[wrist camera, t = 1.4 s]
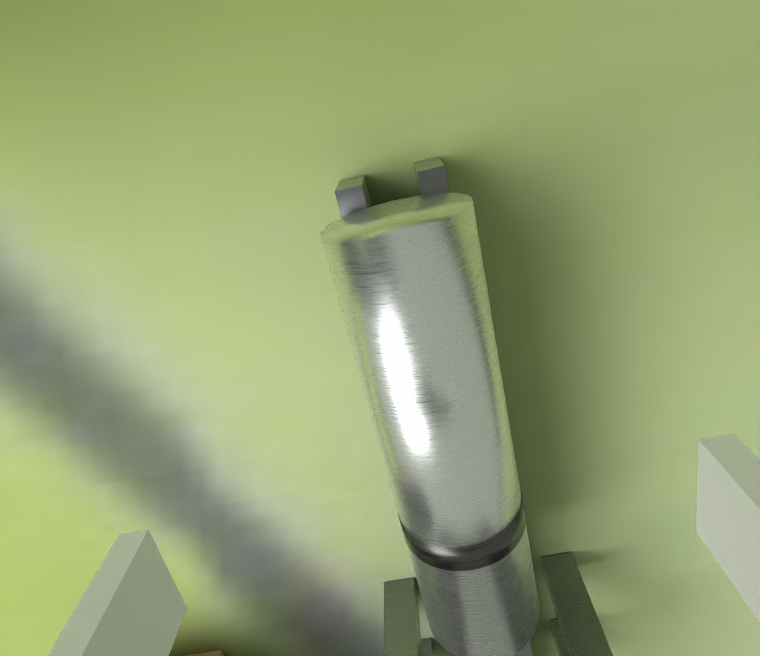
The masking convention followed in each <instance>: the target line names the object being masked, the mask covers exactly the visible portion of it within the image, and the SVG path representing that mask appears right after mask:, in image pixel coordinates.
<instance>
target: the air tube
mask: <svg viewBox="0 0 760 656" xmlns="http://www.w3.org/2000/svg"><path fill="white" fill-rule="evenodd" d="M320 235H321V238H322V242H323V246H324V249H325V253H326V256H327V260H328V263H329V267H330V271H331V274H332V278H333V281H334V285H335V288H336V292H337V296H338V299H339V303H340V306H341V310H342V313H343V317H344V321H345V324H346V328H347V331H348V335H349V338H350V342H351V346H352V349H353V353H354V356H355V360H356V363H357V367H358V371H359V374H360V378H361V381H362V385H363V388H364V392H365V396H366V399H367V403H368V406H369V410H370V413H371V417H372V421H373V424H374V428H375V431H376V435H377V438H378V442H379V446H380V449H381V453H382V456H383V460H384V463H385V467H386V470H387V474H388V478H389V481H390V485H391V488H392V492H393V495H394V499H395V503H396V506H397V510H398V515H399V519H400V523H401V526H402V530H403V533H404V537H405V540H406V543H407V545H408V549H409V553H410V556H411V560H412V563H413V567H414V570H415V574H416V578H417V581H418V585H419V588H420V592H421V595H422V599H423V603H424V606H425V610H426V613H427V617H428V620H429V624H430V627H431V630H432V632H433V635H434V637H435V638H436V640H437V641H438V642H439V643H440V645H441V646H442V647H443V648H444V649H446V650H447V651H448V652H450V653H451V654H453V655H454V656H513V655H515V654H516V653H518V652H519V651H521V650H522V649H523V648H524V647H525V646H526V645H527V644H528V643H529V642H530V641H531V639H532V638H533V636H534V634H535V632H536V630H537V628H538V624H539V620H540V606H539V600H538V594H537V588H536V582H535V576H534V570H533V564H532V558H531V552H530V545H529V539H528V533H527V527H526V518H525V511H524V505H523V499H522V493H521V489H520V485H519V479H518V472H517V466H516V460H515V454H514V448H513V442H512V436H511V430H510V424H509V418H508V412H507V406H506V400H505V393H504V387H503V381H502V375H501V369H500V363H499V357H498V351H497V345H496V339H495V333H494V327H493V320H492V314H491V308H490V302H489V296H488V290H487V284H486V278H485V272H484V266H483V260H482V254H481V247H480V241H479V235H478V229H477V223H476V217H475V211H474V205H473V199H472V197H471V196H469V195H466V194H461V193H437V194H427V195H420V196H414V197H409V198H404V199H399V200H394V201H390V202H386V203H382V204H379V205H375V206H372V207H369V208H366V209H362V210H360V211H357V212H354V213H351V214H349V215H346V216H344V217H342V218H340V219H338V220H336V221H334V222H332V223H330V224H329V225H327V226H326V227H325V228H324V229H323V230H322V231H321V234H320Z"/></svg>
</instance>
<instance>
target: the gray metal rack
mask: <svg viewBox="0 0 760 656" xmlns="http://www.w3.org/2000/svg"><path fill="white" fill-rule="evenodd" d="M414 168H415V173H416V178H417V183H418V188H419V193H420V195H427V194H437V193H449V187H448V182H447V176H446V171H445V165H444V164H443V163H442V161H441V160H440V159H439V157H437V158H432V159H428V160H424V161H420V162H416V163H414ZM335 194H336V198H337V202H338V205H339V209H340V213H341V217H344V216H346V215H349V214H351V213H354V212H357V211H360V210H362V209H366V208H369V207H372V205H371V201H370V197H369V193H368V188H367V184H366V180H365V176H364V175H361V176H357V177H353V178H349V179H344V180H340V182H339V184H338V186H337V188H336V190H335ZM541 563H542V569H543V574H544V578H545V581H546V584H547V587H548V590H549V593H550V596H551V599H552V602H553V605H554V608H555V611H556V615H557V618H558V619H553V620H550V621H551V627H552V634H553V637H554V641H555V644H556V647H557V650H558V654H559V656H613V655H612V652H611V650H610V647H609V645H608V642H607V640H606V637H605V635H604V632H603V630H602V627H601V625H600V622H599V620H598V617H597V615H596V612H595V610H594V607H593V605H592V602H591V600H590V597H589V595H588V592H587V590H586V587H585V585H584V582H583V580H582V577H581V575H580V572H579V570H578V567H577V565H576V562H575V560H574V557H573V555H572V552H568V553H562V554H556V555H549V556H543V557H541ZM384 656H435V653H434V649H433V645H432V642H431V638H428V639H421V635H420V620H419V605H418V592H417V589H416V585H415V582H414V578H408V579H402V580H396V581H390V582H384ZM513 656H533V654H532V649H531V643H530V642H529V643H528V644H527V645H526V646H525V647H524V648H523V649H522V650H521V651H519V652H518V653H516V654H515V655H513Z"/></svg>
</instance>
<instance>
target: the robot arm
mask: <svg viewBox="0 0 760 656" xmlns="http://www.w3.org/2000/svg"><path fill="white" fill-rule="evenodd" d="M696 532H697V534H698V535H699V537H700V538H701V539H702V541H703V542H704V544H705V545H706V547H707V548H708V550H709V551H710V552H711V554H712V555H713V557H714V558H715V560H716V561H717V562H718V564H719V565H720V567H721V568H722V570H723V571H724V573H725V574H726V575H727V577H728V578H729V580H730V581H731V583H732V584H733V585H734V587H735V588H736V590H737V591H738V593H739V594H740V595H741V597H742V598H743V600H744V601H745V603H746V604H747V606H748V607H749V608H750V610H751V611H752V613H753V614H754V616H755V617H756V618H757V620H758V621H759V623H760V460H759V459H758V458H757V457H756V456H755V455H754V454H753V453H752V452H751V451H750V450H749V449H748V448H747V447H746V446H745V445H744V444H743V443H742V442H741V441H740V440H739V439H738V438H737V437H736V436H735V435H734V434H729V435H723V436H717V437H711V438H704V439H698V472H697V513H696ZM186 609H187V607H186V605H185V603H184V600H183V598H182V596H181V594H180V592H179V590H178V588H177V586H176V584H175V582H174V580H173V578H172V576H171V574H170V572H169V570H168V568H167V566H166V564H165V562H164V560H163V558H162V556H161V554H160V552H159V550H158V548H157V546H156V544H155V542H154V540H153V538H152V536H151V534H150V532H149V530H142V531H136V532H130V533H124V534H119V535H118V537H117V539H116V541H115V542H114V544H113V546H112V547H111V549H110V551H109V552H108V554H107V556H106V558H105V559H104V561H103V563H102V564H101V566H100V568H99V569H98V571H97V573H96V575H95V576H94V578H93V580H92V581H91V583H90V585H89V586H88V588H87V590H86V592H85V593H84V595H83V597H82V598H81V600H80V602H79V603H78V605H77V607H76V609H75V610H74V612H73V614H72V615H71V617H70V619H69V620H68V622H67V624H66V626H65V627H64V629H63V631H62V632H61V634H60V636H59V637H58V639H57V641H56V642H55V644H54V646H53V648H52V649H51V651H50V653H49V654H48V656H169V654H170V651H171V649H172V646H173V643H174V641H175V638H176V635H177V633H178V630H179V627H180V625H181V622H182V620H183V617H184V614H185V612H186Z"/></svg>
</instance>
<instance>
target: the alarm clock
mask: <svg viewBox="0 0 760 656" xmlns="http://www.w3.org/2000/svg"><path fill="white" fill-rule="evenodd" d="M186 656H224V655H223V653H222V651H221V650H217V651H210V652H204V653H198V654H192V655H186Z"/></svg>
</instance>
